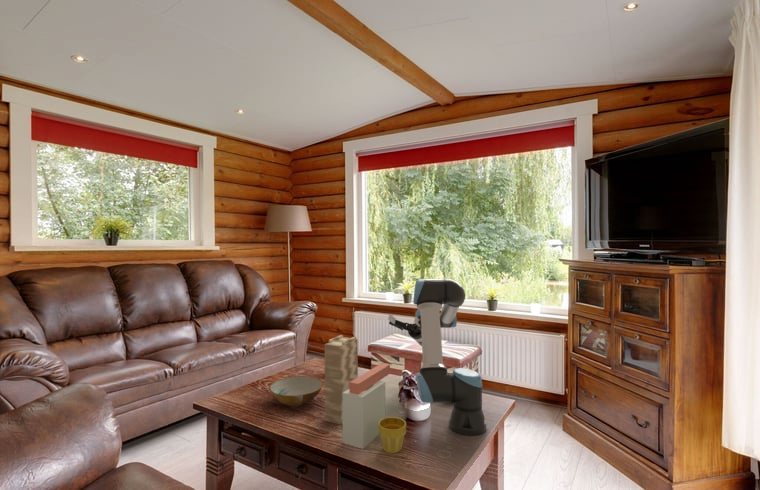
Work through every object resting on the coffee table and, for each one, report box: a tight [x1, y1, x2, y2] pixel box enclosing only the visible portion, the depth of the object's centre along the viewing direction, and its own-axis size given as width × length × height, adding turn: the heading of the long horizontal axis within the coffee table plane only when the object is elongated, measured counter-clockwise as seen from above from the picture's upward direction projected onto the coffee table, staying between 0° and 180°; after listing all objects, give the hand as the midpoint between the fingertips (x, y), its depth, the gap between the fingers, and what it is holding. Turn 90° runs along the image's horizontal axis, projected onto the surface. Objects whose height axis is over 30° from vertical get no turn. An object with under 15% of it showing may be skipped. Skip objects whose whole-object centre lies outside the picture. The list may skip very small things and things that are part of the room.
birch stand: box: [323, 334, 359, 426], centre depth 178 cm, size 15×9×34 cm, turn 151°
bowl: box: [268, 375, 324, 407], centre depth 193 cm, size 25×25×8 cm
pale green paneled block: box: [342, 380, 386, 450], centre depth 160 cm, size 18×9×20 cm, turn 151°
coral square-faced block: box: [349, 363, 391, 394], centre depth 164 cm, size 26×4×4 cm, turn 151°
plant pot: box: [378, 416, 407, 454], centre depth 150 cm, size 10×10×10 cm
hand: (402, 317), depth 191 cm, fingers open, 13 cm apart
